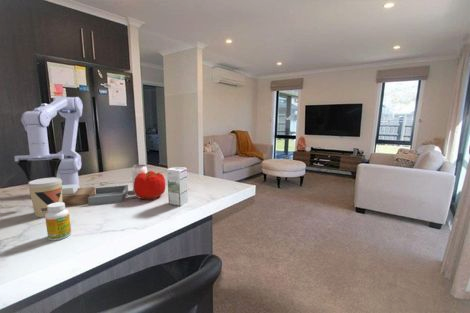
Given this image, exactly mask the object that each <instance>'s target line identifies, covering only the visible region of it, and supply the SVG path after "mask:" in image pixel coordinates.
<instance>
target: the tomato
mask: <svg viewBox="0 0 470 313" xmlns="http://www.w3.org/2000/svg"><path fill="white" fill-rule="evenodd" d="M165 191H166V179H165V176H164V175H163V174H162V173H159V172H157V173H156V172H155V171H153V170H149V171H147V173H146V174H145V173H141V174H138V176H137V177H136V178H135V180H134V191H133V192H134V195H135V196H136V197H138V198H140V200H141V199H142V200H147V199H153V200H154V199H156V198H158V197H160V196H162V195H163V194H164V193H165Z"/></svg>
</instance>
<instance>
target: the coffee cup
mask: <svg viewBox="0 0 470 313" xmlns="http://www.w3.org/2000/svg"><path fill="white" fill-rule="evenodd" d="M27 187H28V190H29V195H30V199H31V204H32V208H33V211H34V214H35V217H37V218H45V215H46V214H47V213H48V212H49V211H48V210H47V206H48V205H49V204H52V203H56V202H62V180H61V179H60V178H55V177H43V178H37V179H34V180H33V179H32V180H29V181H28V183H27Z"/></svg>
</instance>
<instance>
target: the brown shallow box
mask: <svg viewBox="0 0 470 313" xmlns="http://www.w3.org/2000/svg"><path fill="white" fill-rule="evenodd" d="M95 188H96V186H88V187H82V188H78V190H77V191H76V192H75V193H74V194H64V195H62V202H64V203H65V207H68V206H77V205H87V204H88V205H89V202H88V197H94V196H95V194H96V190H95Z"/></svg>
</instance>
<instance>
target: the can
mask: <svg viewBox="0 0 470 313" xmlns="http://www.w3.org/2000/svg"><path fill="white" fill-rule="evenodd" d="M147 172H148V168H147V165H145V164H134V165H132V168H131V178H132V180H131V181H132V190H133V192H134V180H135V178H136V177H137V176H138V174H141V173H145V174H146V173H147Z"/></svg>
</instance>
